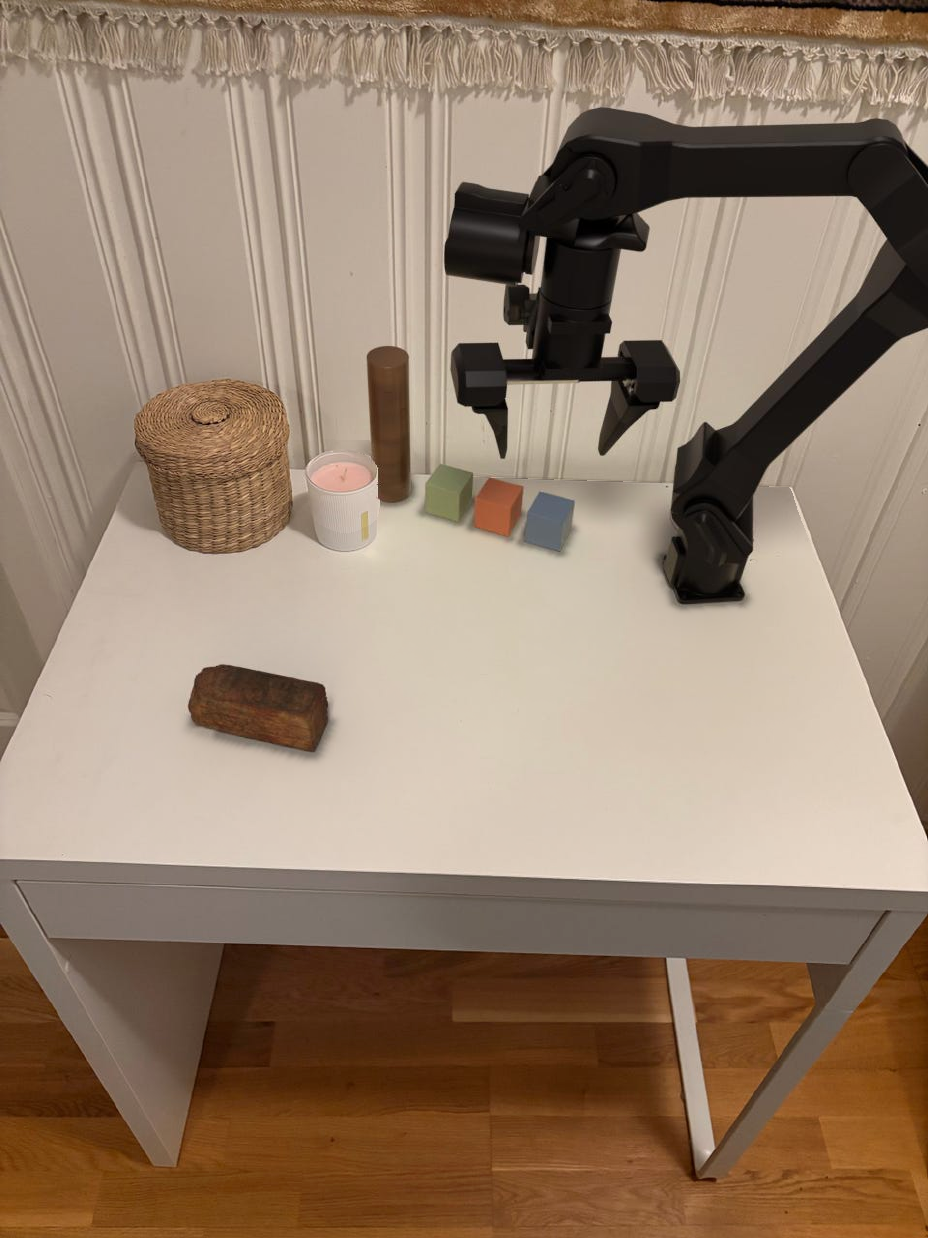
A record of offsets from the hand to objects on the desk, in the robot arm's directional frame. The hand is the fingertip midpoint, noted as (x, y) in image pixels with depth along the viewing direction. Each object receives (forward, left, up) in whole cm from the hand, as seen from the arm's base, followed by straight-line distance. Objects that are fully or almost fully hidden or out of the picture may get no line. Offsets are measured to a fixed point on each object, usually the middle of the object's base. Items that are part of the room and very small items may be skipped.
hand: (551, 454), depth 84 cm
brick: (+27, +19, -12) cm, 35 cm away
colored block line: (+4, -5, -12) cm, 14 cm away
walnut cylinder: (+14, -11, -12) cm, 22 cm away
